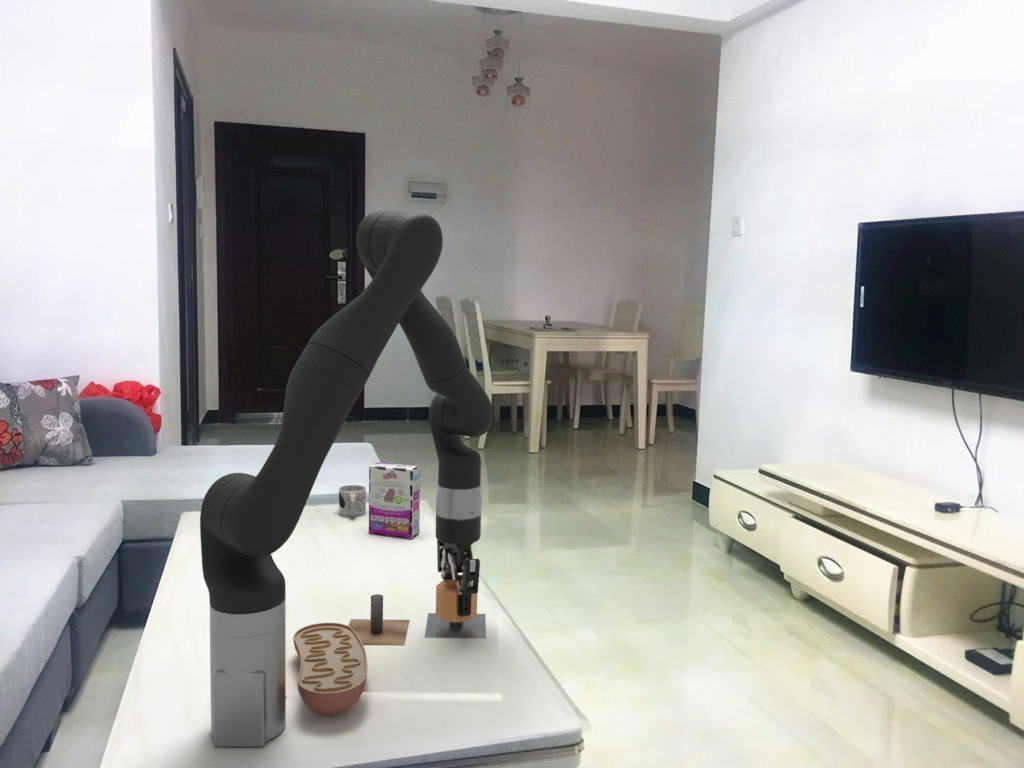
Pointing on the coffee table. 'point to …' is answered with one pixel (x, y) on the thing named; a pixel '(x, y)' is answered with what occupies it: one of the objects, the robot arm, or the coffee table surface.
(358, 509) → the mug
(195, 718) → the coffee table surface
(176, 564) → the coffee table surface
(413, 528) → the candy bar box
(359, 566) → the coffee table surface
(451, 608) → the collar
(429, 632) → the silver peg on base
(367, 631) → the stand
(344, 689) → the anatomical model
